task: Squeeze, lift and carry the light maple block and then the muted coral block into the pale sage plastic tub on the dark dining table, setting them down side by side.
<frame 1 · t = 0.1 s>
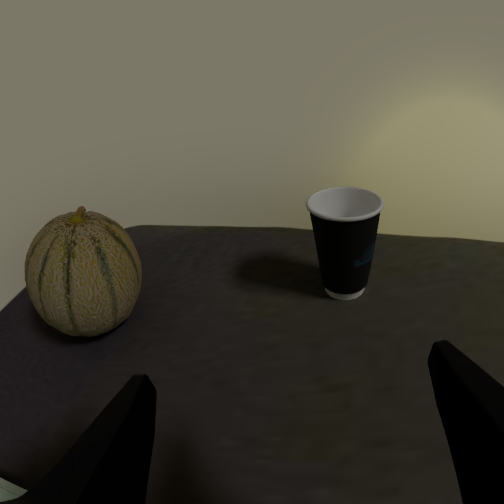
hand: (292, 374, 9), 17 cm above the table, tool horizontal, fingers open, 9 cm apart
cantaloupe: (106, 320, 38), on the table
dixie cup: (344, 288, 37), on the table
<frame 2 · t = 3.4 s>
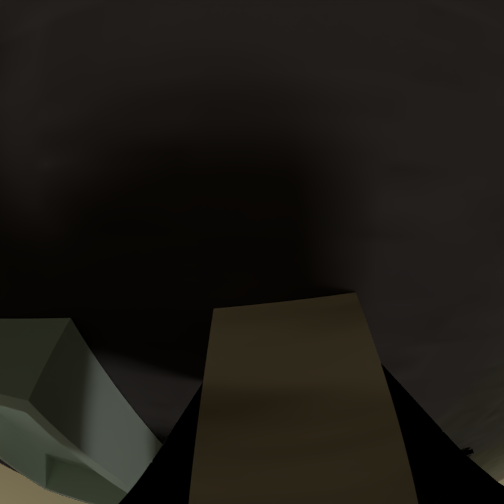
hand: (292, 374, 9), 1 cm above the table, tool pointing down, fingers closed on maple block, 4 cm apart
sage tub: (57, 416, 14), on the table
maple block: (289, 348, 10), on the table, touching gripper
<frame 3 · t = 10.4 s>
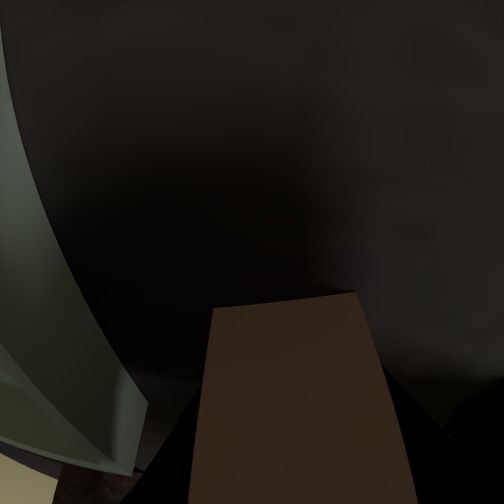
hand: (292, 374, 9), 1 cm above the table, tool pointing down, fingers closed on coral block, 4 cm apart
candle: (111, 468, 19), on the table
coral block: (289, 348, 10), on the table, touching gripper
when the fingers open (4 cm above the table, at t = 13.5 s): coral block drops 3 cm, resting on sage tub.
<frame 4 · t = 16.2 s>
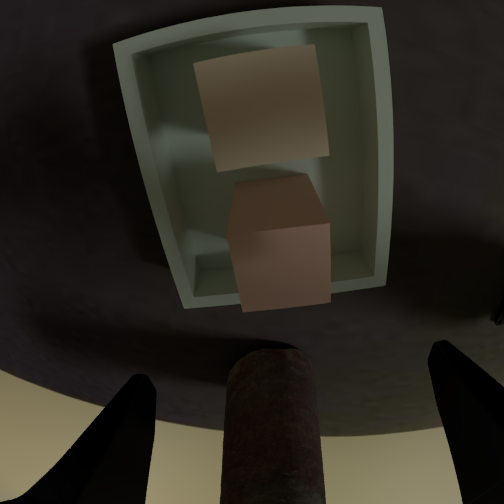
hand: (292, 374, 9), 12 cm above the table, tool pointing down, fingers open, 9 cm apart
candle: (269, 367, 27), on the table
coral block: (275, 210, 19), point 1 cm above the table, touching sage tub
sage tub: (267, 153, 18), on the table
maple block: (261, 95, 15), point 1 cm above the table, touching sage tub
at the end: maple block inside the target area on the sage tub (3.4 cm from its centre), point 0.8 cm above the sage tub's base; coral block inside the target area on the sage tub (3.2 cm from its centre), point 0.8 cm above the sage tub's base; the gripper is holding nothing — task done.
